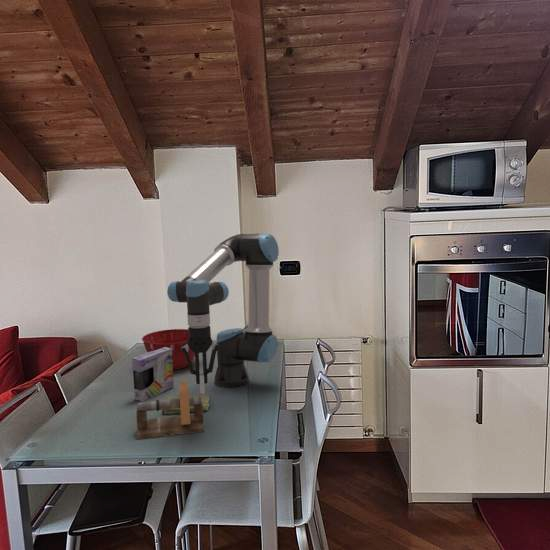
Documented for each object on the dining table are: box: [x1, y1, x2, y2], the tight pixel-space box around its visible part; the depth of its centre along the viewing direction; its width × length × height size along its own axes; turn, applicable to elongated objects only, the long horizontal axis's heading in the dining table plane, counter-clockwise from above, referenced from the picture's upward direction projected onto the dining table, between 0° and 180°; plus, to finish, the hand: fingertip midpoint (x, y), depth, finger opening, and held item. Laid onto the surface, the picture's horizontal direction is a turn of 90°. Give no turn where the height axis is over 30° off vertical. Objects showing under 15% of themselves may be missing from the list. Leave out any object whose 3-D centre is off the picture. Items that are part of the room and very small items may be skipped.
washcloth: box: [161, 394, 211, 415], centre depth 186 cm, size 13×18×3 cm
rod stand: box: [135, 397, 205, 440], centre depth 167 cm, size 22×12×10 cm, turn 102°
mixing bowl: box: [141, 328, 195, 371], centre depth 239 cm, size 28×28×15 cm
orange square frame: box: [178, 381, 191, 425], centre depth 167 cm, size 3×11×11 cm, turn 12°
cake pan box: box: [131, 347, 175, 402], centre depth 200 cm, size 19×5×18 cm, turn 147°
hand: (202, 392), depth 168 cm, fingers closed
